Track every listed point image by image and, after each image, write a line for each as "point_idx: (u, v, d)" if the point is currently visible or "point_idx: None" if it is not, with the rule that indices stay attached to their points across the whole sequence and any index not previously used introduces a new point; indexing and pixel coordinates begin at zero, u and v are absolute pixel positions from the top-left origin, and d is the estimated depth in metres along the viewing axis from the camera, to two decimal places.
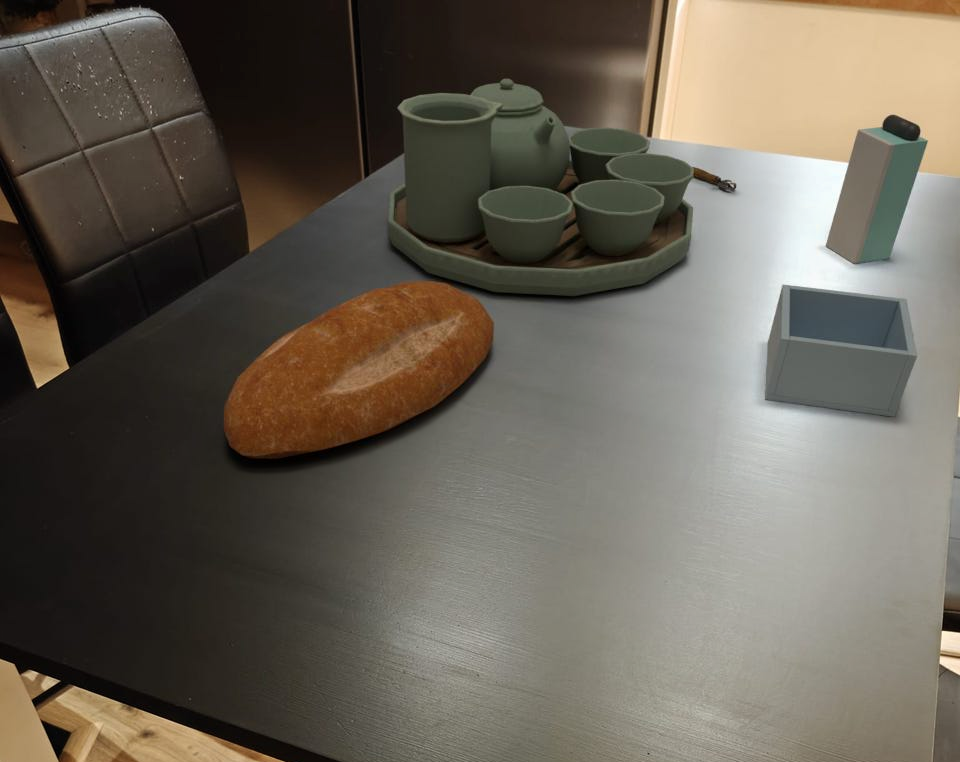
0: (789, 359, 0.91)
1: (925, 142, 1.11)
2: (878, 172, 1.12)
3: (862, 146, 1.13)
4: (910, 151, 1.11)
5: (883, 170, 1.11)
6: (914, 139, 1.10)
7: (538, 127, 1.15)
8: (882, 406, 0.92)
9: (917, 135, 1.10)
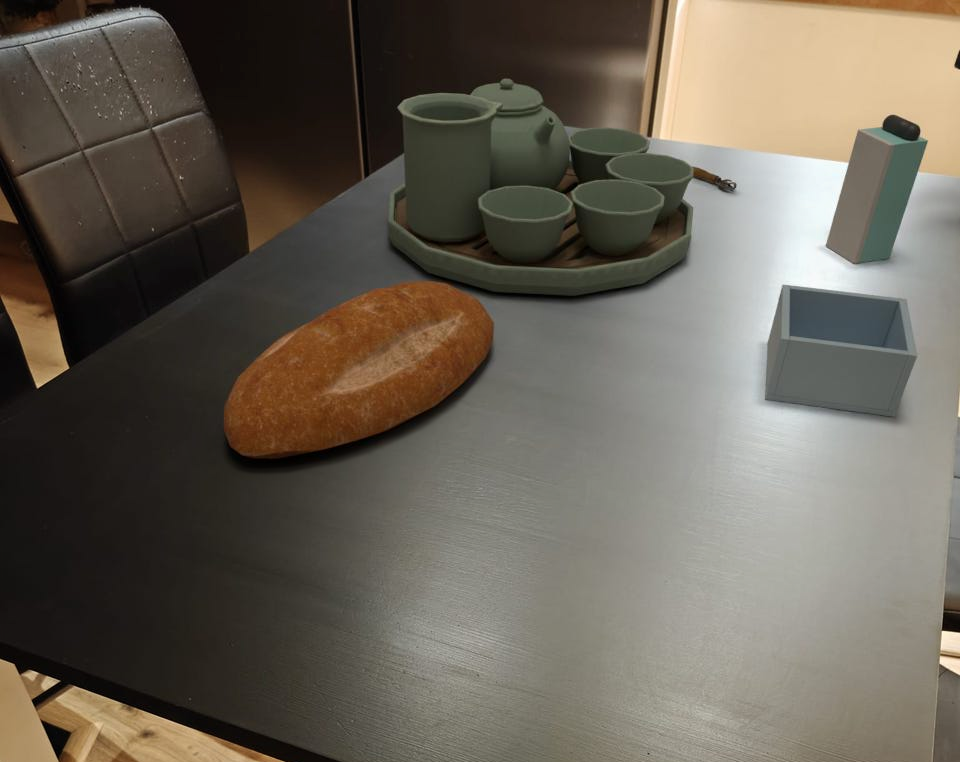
0: (789, 359, 0.91)
1: (925, 142, 1.11)
2: (878, 172, 1.12)
3: (862, 146, 1.13)
4: (910, 151, 1.11)
5: (883, 170, 1.11)
6: (914, 139, 1.10)
7: (538, 127, 1.15)
8: (882, 406, 0.92)
9: (917, 135, 1.10)
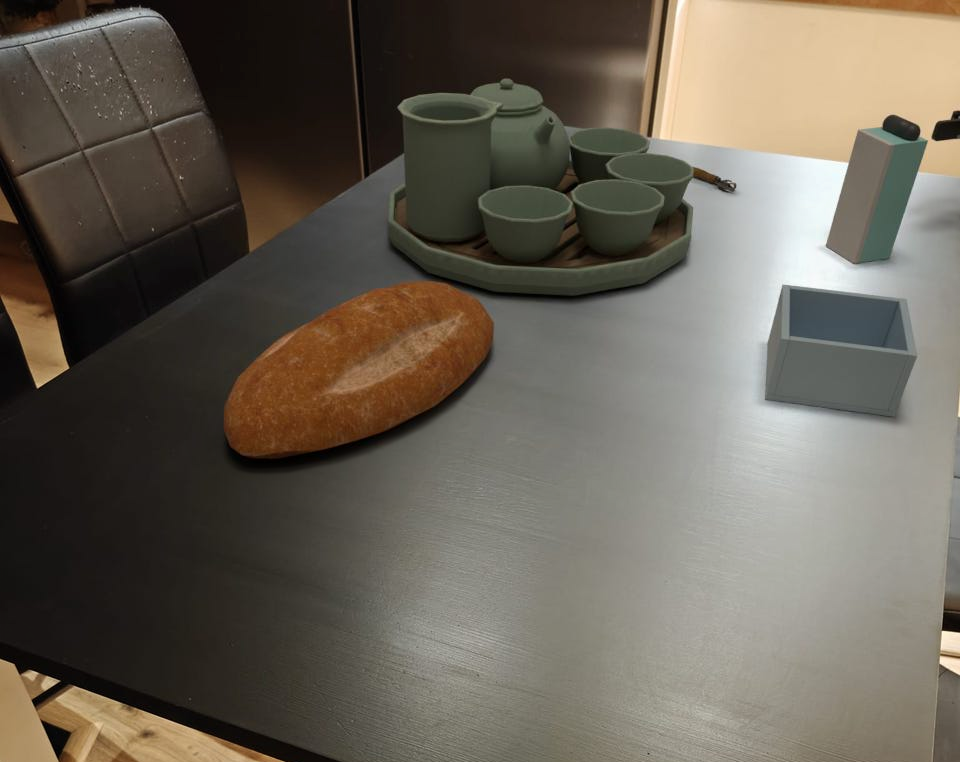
0: (789, 359, 0.91)
1: (925, 142, 1.11)
2: (878, 172, 1.12)
3: (862, 146, 1.13)
4: (910, 151, 1.11)
5: (883, 170, 1.11)
6: (914, 139, 1.10)
7: (538, 127, 1.15)
8: (882, 406, 0.92)
9: (917, 135, 1.10)
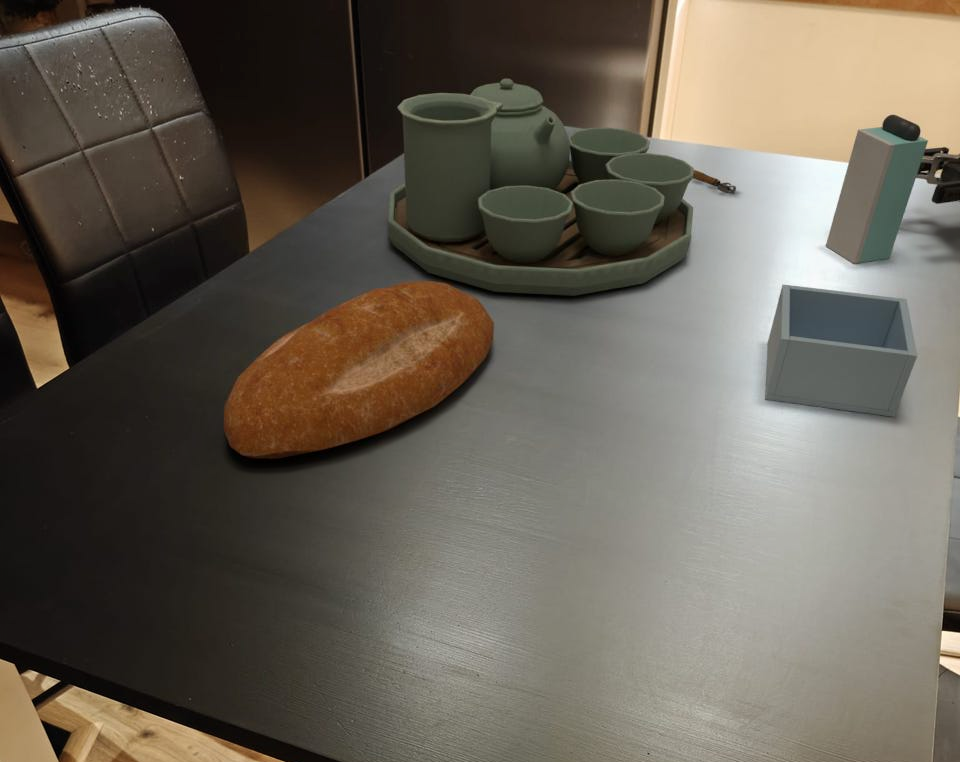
0: (789, 359, 0.91)
1: (925, 142, 1.11)
2: (878, 172, 1.12)
3: (862, 146, 1.13)
4: (910, 151, 1.11)
5: (883, 170, 1.11)
6: (914, 139, 1.10)
7: (538, 127, 1.15)
8: (882, 406, 0.92)
9: (917, 135, 1.10)
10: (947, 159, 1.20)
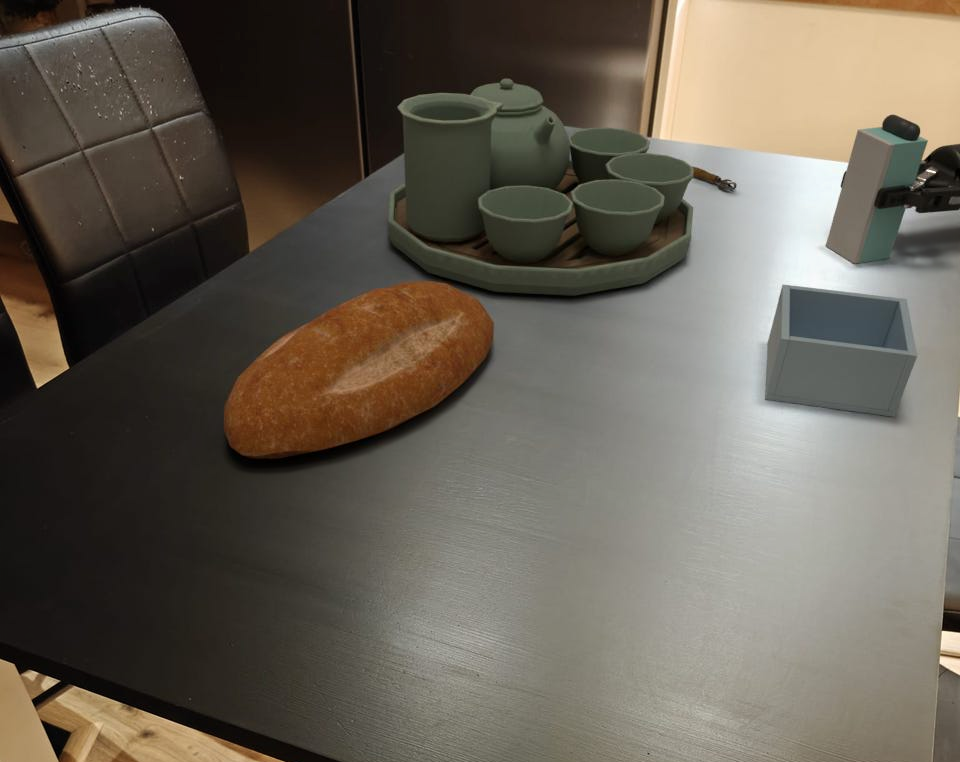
0: (789, 359, 0.91)
1: (925, 142, 1.11)
2: (877, 172, 1.12)
3: (862, 146, 1.13)
4: (910, 151, 1.11)
5: (883, 170, 1.11)
6: (914, 139, 1.10)
7: (538, 127, 1.15)
8: (882, 406, 0.92)
9: (917, 135, 1.10)
10: None
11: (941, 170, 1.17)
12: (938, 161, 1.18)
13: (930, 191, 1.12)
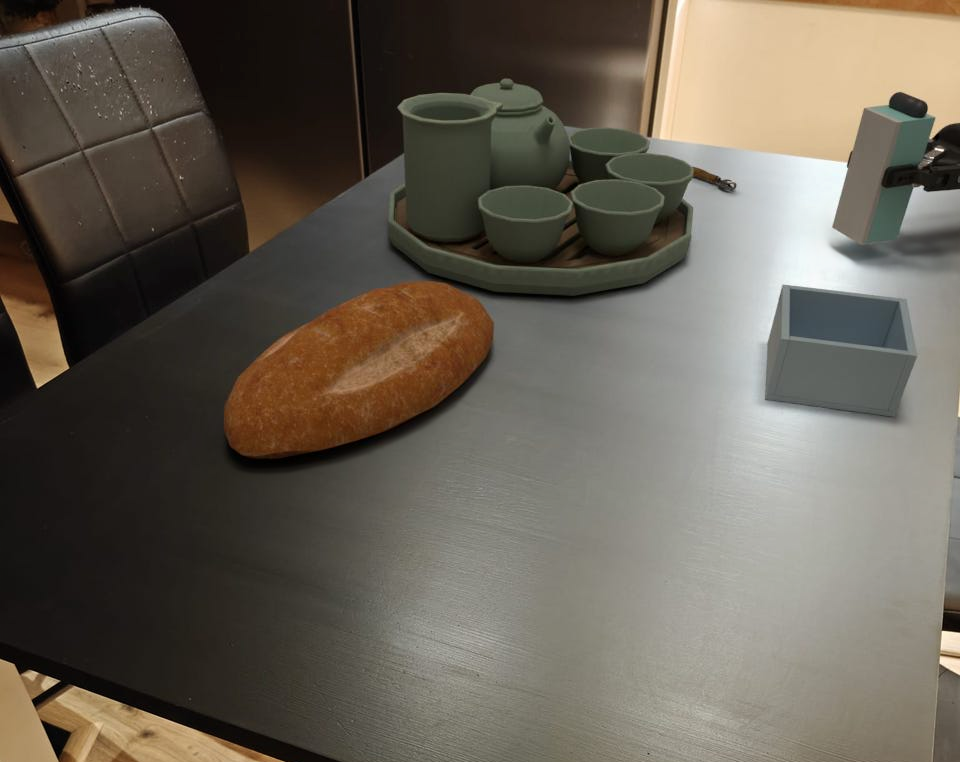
0: (789, 359, 0.91)
1: (933, 119, 1.09)
2: (884, 150, 1.10)
3: (868, 124, 1.11)
4: (917, 129, 1.09)
5: (890, 148, 1.09)
6: (921, 116, 1.08)
7: (538, 127, 1.15)
8: (882, 406, 0.92)
9: (924, 112, 1.08)
10: None
11: (949, 148, 1.16)
12: (946, 140, 1.16)
13: (938, 169, 1.10)
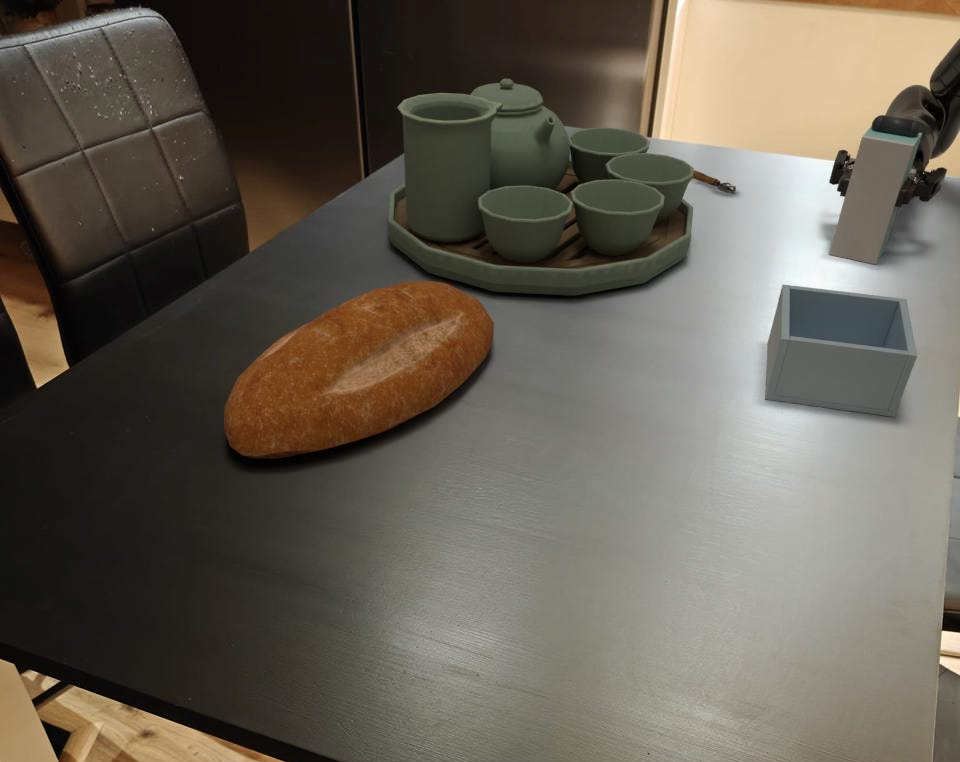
0: (789, 359, 0.91)
1: (921, 135, 1.12)
2: (899, 173, 1.11)
3: (871, 152, 1.11)
4: (916, 147, 1.12)
5: (905, 170, 1.11)
6: (917, 135, 1.11)
7: (538, 127, 1.15)
8: (882, 406, 0.92)
9: None
10: None
11: None
12: None
13: (934, 179, 1.15)
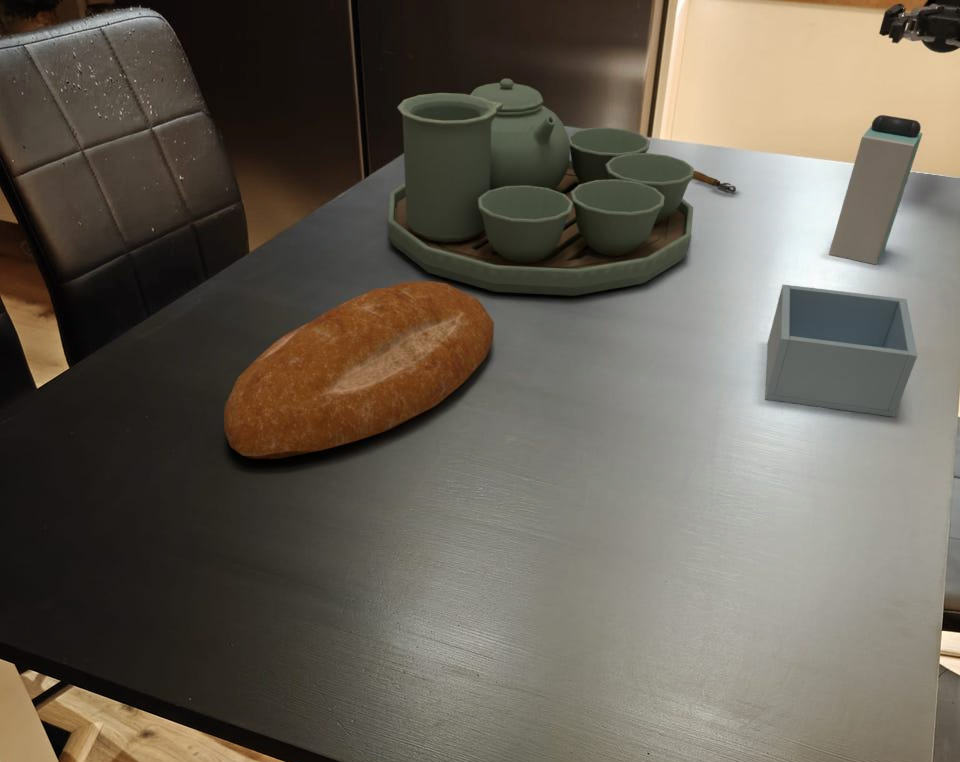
0: (789, 359, 0.91)
1: (921, 135, 1.12)
2: (899, 173, 1.11)
3: (871, 152, 1.11)
4: (916, 147, 1.12)
5: (905, 170, 1.11)
6: (917, 135, 1.11)
7: (538, 127, 1.15)
8: (882, 406, 0.92)
9: None
10: (928, 11, 1.17)
11: (954, 10, 1.19)
12: (946, 2, 1.19)
13: None
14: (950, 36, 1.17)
